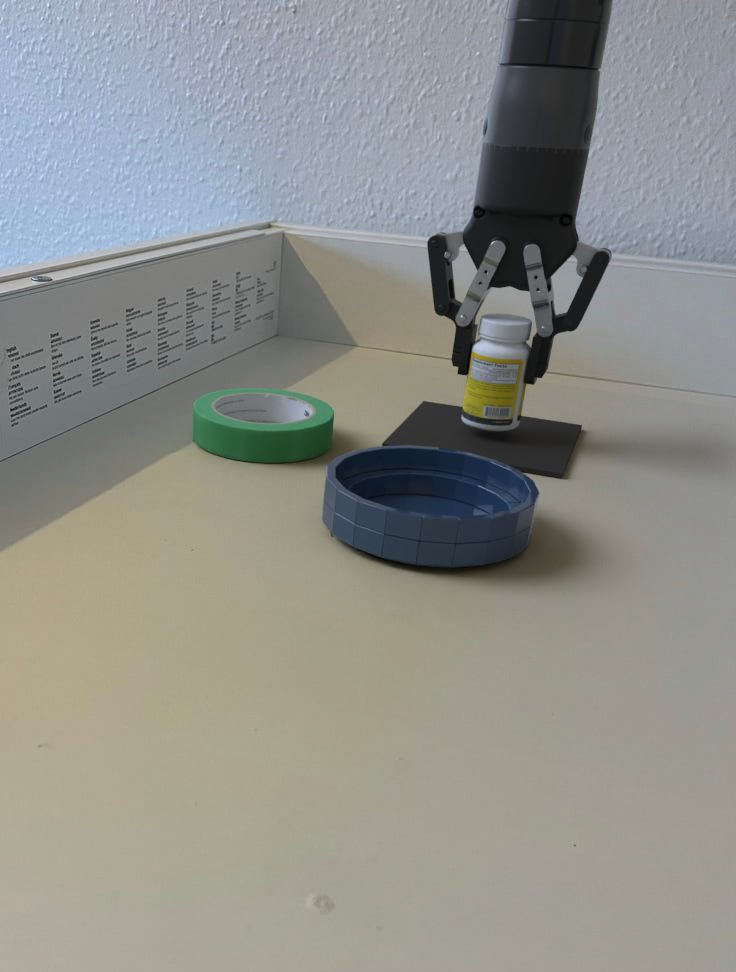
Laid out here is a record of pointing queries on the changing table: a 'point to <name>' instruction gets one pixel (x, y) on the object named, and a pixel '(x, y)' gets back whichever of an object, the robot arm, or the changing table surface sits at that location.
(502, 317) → the supplement bottle
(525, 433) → the mat
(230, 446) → the tape roll
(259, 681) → the changing table surface
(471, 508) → the dish
